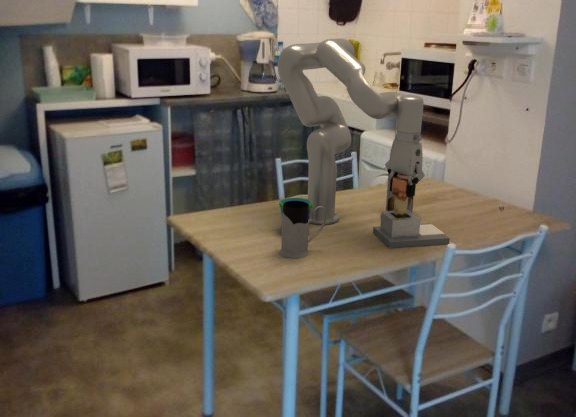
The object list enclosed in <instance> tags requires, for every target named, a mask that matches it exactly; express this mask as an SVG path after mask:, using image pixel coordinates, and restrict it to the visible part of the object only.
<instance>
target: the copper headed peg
mask: <svg viewBox="0 0 576 417" xmlns="http://www.w3.org/2000/svg"><path fill="white" fill-rule="evenodd" d="M412 180H413V178H412ZM408 184H409V181H408V177H407V176H402V175H399V176H394V177H393V183H392V194H393V195H395V204H394V214H393V216H394V217H396V218H406V214H407V204H408V197H406V192H407V185H408Z"/></svg>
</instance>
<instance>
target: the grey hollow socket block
mask: <svg viewBox="0 0 576 417" xmlns="http://www.w3.org/2000/svg"><path fill="white" fill-rule="evenodd" d="M380 212H381V213H380V224H379V225H380V229H381V230H382V231H383V232H384V233H385V234H386V235H388V236H389V237H390V238H391V239H398V238H414V237H419V230H420V224H421V218H420V217H419V216H417V215H416V214H414V213H413V211H412V212H410V211H409V210H407V214H406V218H396V217H394V216H393V214H394V211H386V210H385V211H384V210H382V211H380Z"/></svg>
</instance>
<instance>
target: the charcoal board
mask: <svg viewBox="0 0 576 417" xmlns="http://www.w3.org/2000/svg"><path fill="white" fill-rule="evenodd" d="M428 224H431V223H420V225H428ZM372 227H373V228H372V233H373V234H374V235H375V236H376V237H377V238H378V239H379V240H380V241H382V243H384V245H386V246H387V248H389V249H396V248H398V249H399V248H411V247H423V246H424V245H425V246H426V245H427V246H439V244H442V245H449V244H450V238H451V237H449V236H448V235H446V234H445V235H443V236H427V237H421V236H420V235H419V237H414V238H398V239H391V238H390V237H389V236H388V235H386V234H385V233H384V232H383V231H382V230H381V229H380V226H372ZM448 243H449V244H448ZM425 246H424V247H425Z"/></svg>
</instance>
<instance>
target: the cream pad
mask: <svg viewBox="0 0 576 417" xmlns="http://www.w3.org/2000/svg"><path fill="white" fill-rule="evenodd" d="M427 224H428V223H427ZM419 235H420V236H421V237H427V236H443V235H446V234H445V233H444V232H443V231H442V230H440V229H439V228H437V227H436V226H435V225H433V224H432V223H430V224H428V225H420V230H419Z"/></svg>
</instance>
